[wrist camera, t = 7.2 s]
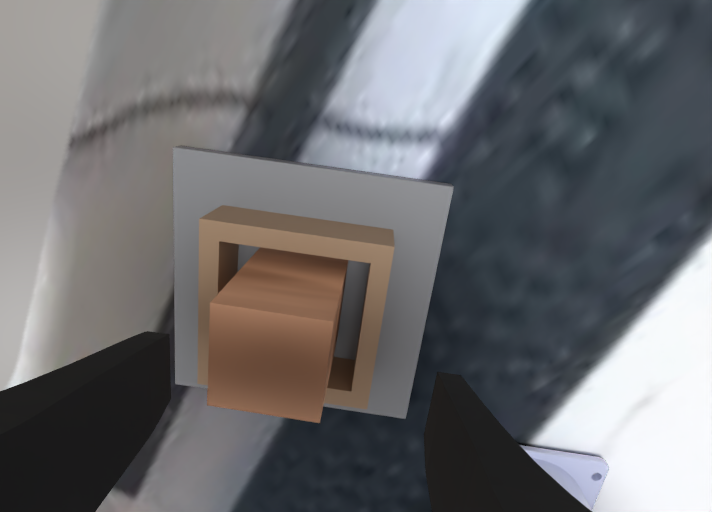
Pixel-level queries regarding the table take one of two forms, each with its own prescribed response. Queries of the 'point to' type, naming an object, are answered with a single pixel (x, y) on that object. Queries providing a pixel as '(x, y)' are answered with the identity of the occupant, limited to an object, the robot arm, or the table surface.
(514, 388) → the table surface
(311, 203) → the dock
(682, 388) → the table surface
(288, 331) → the tan wooden block
